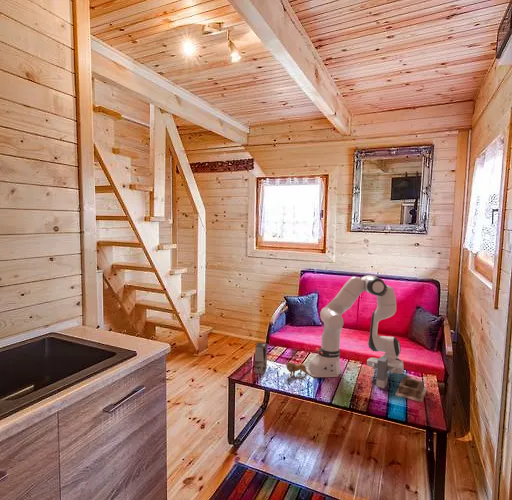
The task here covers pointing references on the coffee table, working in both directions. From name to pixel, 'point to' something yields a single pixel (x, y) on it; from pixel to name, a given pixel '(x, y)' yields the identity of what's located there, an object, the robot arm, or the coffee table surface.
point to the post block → (411, 389)
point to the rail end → (382, 372)
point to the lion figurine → (296, 368)
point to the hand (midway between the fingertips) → (381, 369)
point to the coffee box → (260, 358)
